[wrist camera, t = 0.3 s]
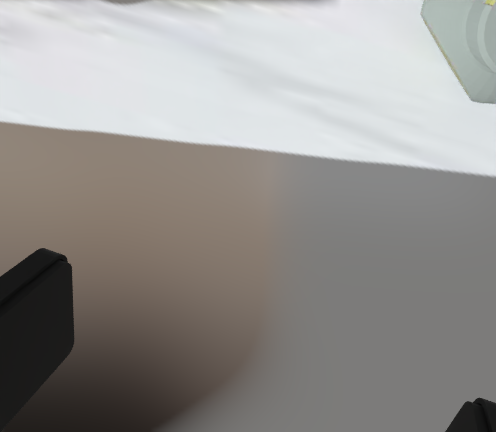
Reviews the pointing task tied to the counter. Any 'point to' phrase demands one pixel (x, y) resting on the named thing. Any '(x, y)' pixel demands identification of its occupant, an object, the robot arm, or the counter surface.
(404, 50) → the counter surface
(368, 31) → the counter surface
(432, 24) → the air freshener
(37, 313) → the robot arm
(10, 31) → the counter surface
